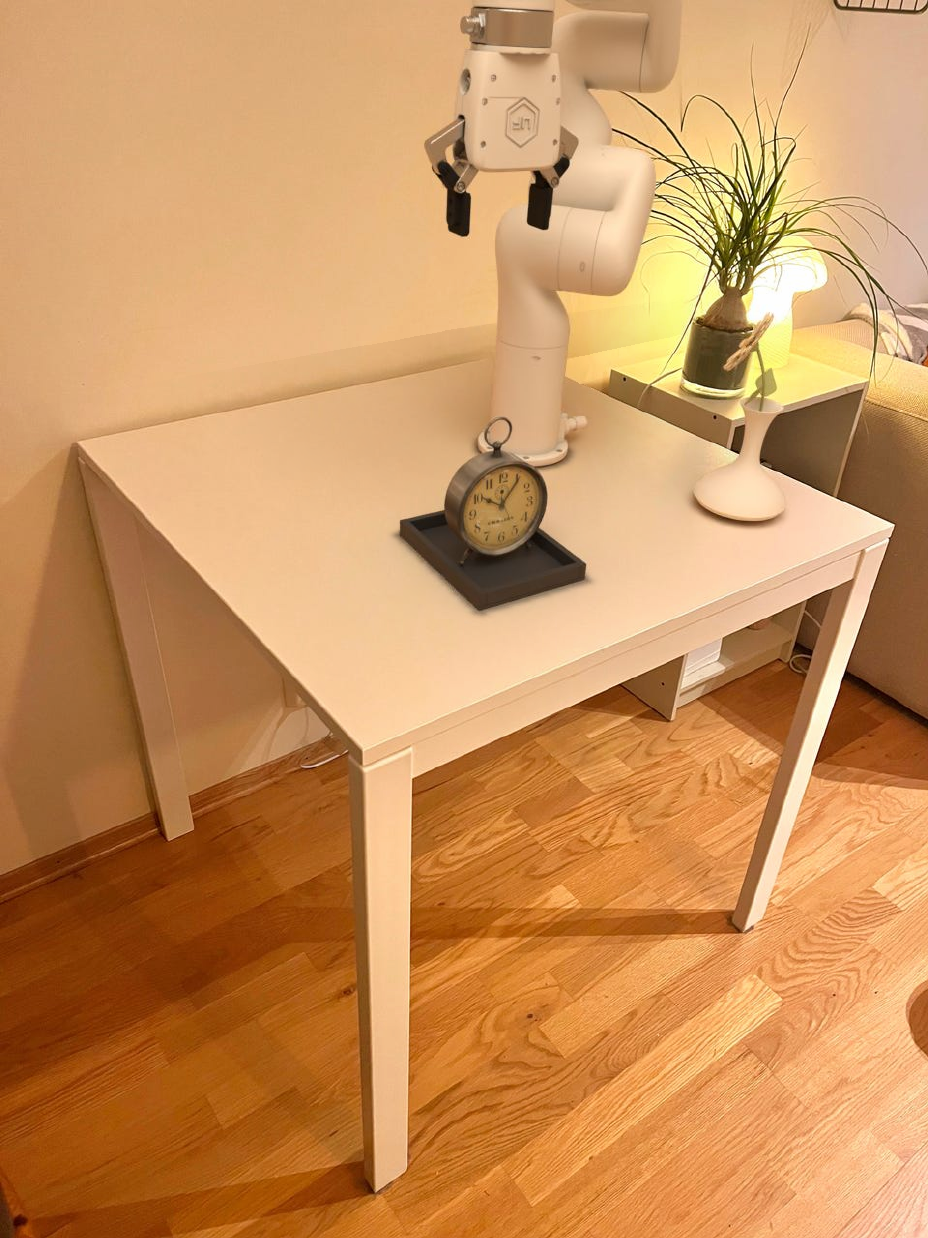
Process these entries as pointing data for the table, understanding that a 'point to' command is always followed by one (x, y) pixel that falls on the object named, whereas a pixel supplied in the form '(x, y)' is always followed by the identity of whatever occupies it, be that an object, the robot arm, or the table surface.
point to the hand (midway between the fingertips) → (498, 230)
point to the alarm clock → (495, 501)
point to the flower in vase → (747, 452)
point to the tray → (492, 563)
